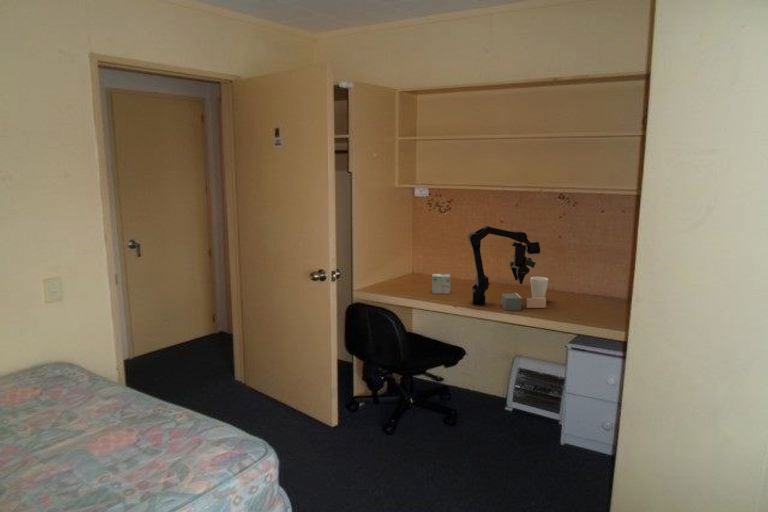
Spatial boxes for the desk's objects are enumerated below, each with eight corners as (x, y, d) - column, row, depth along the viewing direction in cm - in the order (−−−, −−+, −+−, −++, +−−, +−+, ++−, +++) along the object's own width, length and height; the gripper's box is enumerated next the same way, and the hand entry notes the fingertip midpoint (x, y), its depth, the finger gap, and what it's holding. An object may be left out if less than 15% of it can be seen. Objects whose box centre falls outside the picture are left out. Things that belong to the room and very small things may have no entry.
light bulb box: (450, 291, 330) (450, 273, 328) (450, 294, 324) (450, 276, 322) (432, 290, 331) (432, 273, 329) (432, 293, 325) (432, 275, 323)
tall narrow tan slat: (527, 307, 293) (527, 298, 292) (526, 306, 295) (526, 297, 294) (545, 307, 293) (546, 298, 292) (544, 306, 295) (545, 297, 294)
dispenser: (505, 310, 289) (506, 297, 287) (501, 305, 299) (501, 292, 297) (520, 310, 289) (521, 297, 288) (515, 305, 299) (516, 292, 298)
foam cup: (528, 302, 305) (529, 279, 303) (530, 298, 314) (531, 276, 312) (546, 303, 302) (547, 280, 300) (547, 299, 311) (548, 277, 308)
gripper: (539, 257, 289) (538, 286, 292) (529, 251, 307) (528, 278, 310) (518, 257, 289) (517, 286, 291) (509, 251, 307) (508, 278, 310)
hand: (518, 282), depth 301 cm, fingers open, 9 cm apart
